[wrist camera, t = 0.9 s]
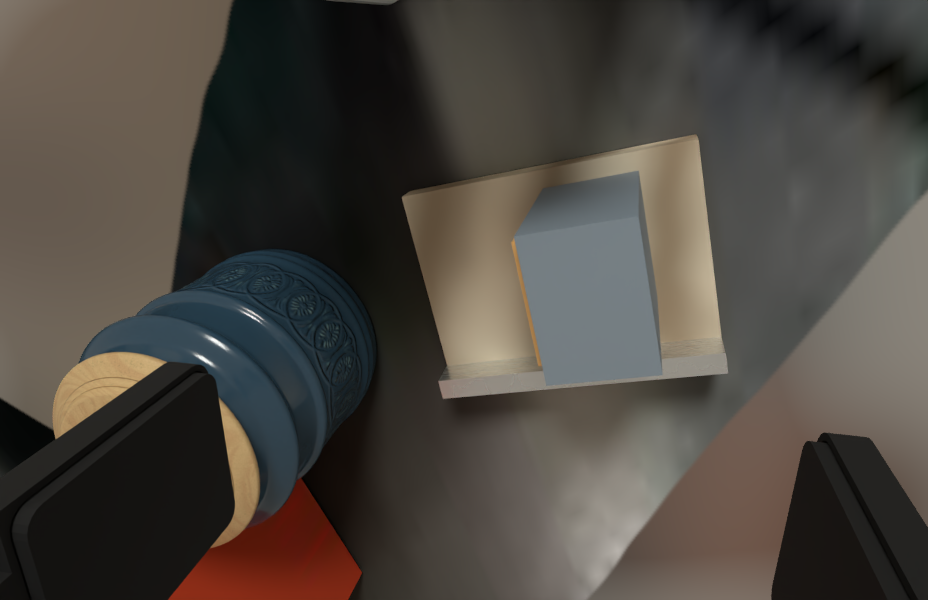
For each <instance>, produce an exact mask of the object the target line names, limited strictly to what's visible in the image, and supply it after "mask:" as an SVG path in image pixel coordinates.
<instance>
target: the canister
mask: <svg viewBox="0 0 928 600" xmlns="http://www.w3.org/2000/svg"><path fill="white" fill-rule="evenodd" d="M376 354H377V348H376V338H375V333H374V329H373V325H372V322H371V319H370V317H369V315H368V312H367V310H366V308H365V307H364V305H363V303H362V301H361V300H360V298H359V297H358V295H357V294H356V293H355V291H354V290H353V289H352V288H351V286H350V285H349V284H348V283H347V282H346V281H345V280H344V279H343V278H342V277H341V276H340V275H338V274H337V273H336V272H335V271H333V270H332V269H331V268H329V267H328V266H326V265H325V264H323V263H321V262H320V261H318V260H316V259H314V258H312V257H309V256H307V255H304V254H301V253H298V252H294V251H290V250H283V249H264V250H258V251H253V252H247V253H243V254H239V255H236V256H233V257H231V258H229V259H227V260H225V261H224V262H221V263H220V264H218V265H216V266H214V267H213V268H212V269H210V270H209V271H208V272H207V273H206V274H205V275H204V276H203V277H201V278H199V279H198V280H196V281H194V282H192V283H191V284H189V285H187V286H185V287H184V288H182V289H180V290H178V291H177V292H172V293H169V294H166V295H163V296H161V297H159V298H157V299H155V300H153V301H151V302H150V303H149V304H147V305H146V306H144V307H143V308H142V309H141V310H140V311H139V312H138V313H137V315H136V316H133V317H128V318H125V319H122V320H119V321H117V322H115V323H113V324H111V325H109V326H107V327H105V328H104V329H103V330H101V331H100V332H99V333H98V334H97V335H96V336H95V337H94V338H93V339H92V340H91V341H90V342H89V344H88V345H87V347H86V348H85V350H84V352H83V354H82V356H81V358H80V361H79V363H78V365H77V366H75V367H74V368H73V369H72V370H71V371H69V373H68V374H67V375H66V376H65V377H64V379H63V380H62V382H61V384H60V386H59V387H58V390H57V393H56V396H55V399H54V405H53V427H54V433H55V438H56V439H57V438H58V437H60V436H61V435H63V434H64V433H66V432H67V431H68V430H70V429H71V428H73V427H74V426H76V425H77V424H78V423H80V422H81V421H83V420H84V419H86V418H87V417H89V416H90V415H91V414H93V413H94V412H96V411H97V410H99V409H100V408H101V407H103V406H104V405H106V404H107V403H109V402H110V401H111V400H113V399H114V398H116V397H117V396H119V395H120V394H121V393H123V392H124V391H126V390H127V389H129V388H130V387H132V386H133V385H134V384H136V383H137V382H139V381H140V380H142V379H143V378H144V377H146V376H147V375H149V374H150V373H152V372H153V371H154V370H156V369H157V368H159V367H160V366H162V365H163V364H165V363H167V362H181V363H190V364H199V365H202V366H204V367H205V368H206V369H207V371H208V373H209V374H211V375H212V376H213V377H214V378H215V380H216V384H217V390H218V396H219V403H220V409H221V416H222V422H223V428H224V435H225V441H226V447H227V454H228V460H229V467H230V473H231V479H232V486H233V492H234V498H235V511H234V515H233V518H232V520H231V522H230V524H229V525H228V527H227V528H226V529H225V530H224V532H223V533H222V534H221V535H220V537H219V538H218V539H217V540H216V541H215V543H214V544H213V545H212V546H211V548H213V547H217V546H220V545H222V544H225V543H227V542H229V541H230V540H232V539H234V538H235V537H236V536H238V535H239V534H240V533H241V532H242V531H243V530H244V529H247V528H250V527H253V526H256V525H258V524H260V523H262V522H264V521H266V520H268V519H269V518H271V517H272V516H273V515H275V514H276V513H277V512H278V511H279V510H280V509H281V508H282V507H283V506H284V505H285V503H286V502H287V500H288V499H289V497H290V495H291V493H292V492H293V489H294V487H295V484H296V481H298V480H299V479H300V478H302V477H303V476H304V475H305V474H306V473H307V472H308V471H309V470H310V469H311V468H312V467H313V466H314V464H315V463H316V461H317V460H318V458H319V456H320V454H321V452H322V449H323V447H324V446H325V444H326V443H327V442H328V440H329V439H330V438H331V436H332V435H333V434H334V432H335V431H336V430H337V428H338V427H339V426H340V424H341V423H342V422H344V421H345V420H346V419H347V418H348V417H349V416H350V415H351V414H352V413H353V412H354V411H355V409H356V408H357V406H358V405H359V404H360V402H361V401H362V399H363V398H364V396H365V394H366V392H367V390H368V388H369V385H370V382H371V378H372V375H373V372H374V369H375V364H376Z"/></svg>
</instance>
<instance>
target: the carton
mask: <svg viewBox="0 0 928 600" xmlns="http://www.w3.org/2000/svg"><path fill="white" fill-rule="evenodd" d="M511 244H512V248H513V253H514V257H515V262H516V267H517V271H518V276H519V280H520V285H521V289H522V294H523V298H524V303H525V307H526V312H527V316H528V321H529V326H530V330H531V335H532V339H533V344H534V348H535V353H536V357H537V362H538V366H542V368H543V373H544V377H545V382H546V386H550V385H561V384H572V383H583V382H594V381H605V380H616V379H627V378H638V377H649V376H660V375H663V373H662V358H661V343H660V328H659V312H658V297H657V290H656V283H655V277H654V270H653V263H652V256H651V250H650V243H649V236H648V229H647V223H646V216H645V209H644V202H643V196H642V189H641V182H640V176H639V171H633V172H628V173H623V174H617V175H612V176H607V177H601V178H596V179H591V180H585V181H580V182H575V183H569V184H564V185H558V186H553V187H548V188H543V189H542V191H541V192H540V194H539V196H538V197H537V199H536V201H535V202H534V204H533V206H532V207H531V209H530V211H529V212H528V214H527V216H526V217H525V219H524V221H523V222H522V224H521V226H520V227H519V229H518V231H517V232H516V234H515V235H514V239H513V240H512V242H511Z"/></svg>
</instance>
